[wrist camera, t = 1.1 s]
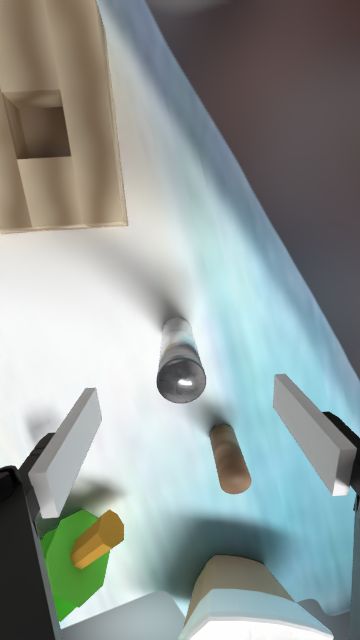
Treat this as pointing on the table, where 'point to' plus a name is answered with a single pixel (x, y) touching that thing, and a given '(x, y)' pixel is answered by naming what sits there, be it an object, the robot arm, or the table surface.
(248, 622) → the bowl
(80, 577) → the decorative tree
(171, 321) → the pin
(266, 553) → the table surface
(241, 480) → the walnut dowel
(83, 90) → the board
